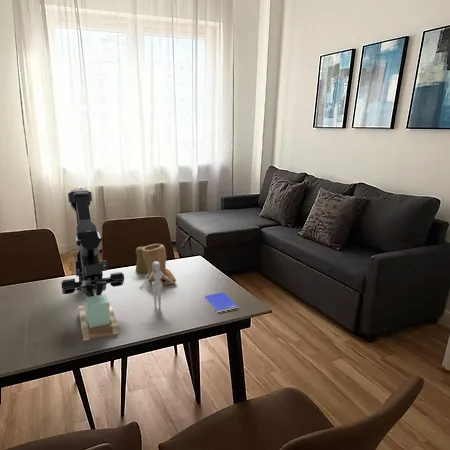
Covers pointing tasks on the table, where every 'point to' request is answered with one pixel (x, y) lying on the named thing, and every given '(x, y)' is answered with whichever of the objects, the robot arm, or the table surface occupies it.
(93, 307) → the sage block
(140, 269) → the cork
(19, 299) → the table surface
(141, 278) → the table surface
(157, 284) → the human figurine
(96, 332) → the chute
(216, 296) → the hard drive
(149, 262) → the tan hollow piece
